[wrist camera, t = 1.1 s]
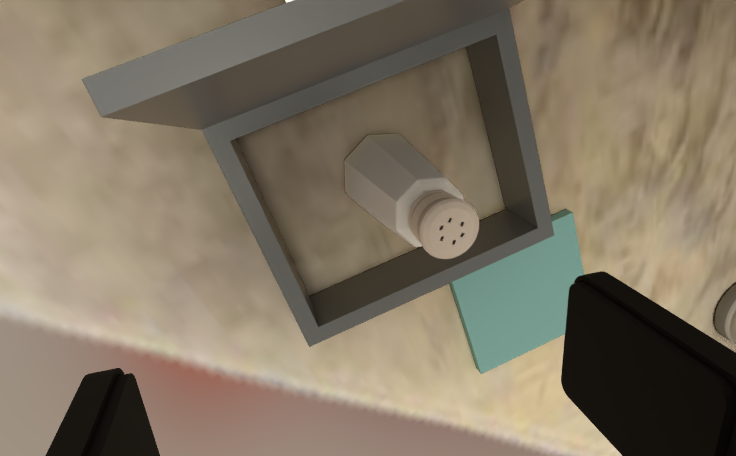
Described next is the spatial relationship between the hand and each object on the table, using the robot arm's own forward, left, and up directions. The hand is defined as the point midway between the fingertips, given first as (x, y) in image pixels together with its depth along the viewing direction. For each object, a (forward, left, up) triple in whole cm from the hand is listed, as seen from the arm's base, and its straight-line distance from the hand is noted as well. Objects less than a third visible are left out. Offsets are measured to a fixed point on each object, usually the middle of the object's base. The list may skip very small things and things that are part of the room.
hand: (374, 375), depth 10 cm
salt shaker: (-5, +3, -21) cm, 22 cm away
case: (-5, +3, -21) cm, 22 cm away
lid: (-5, -5, -10) cm, 13 cm away
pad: (-12, +16, -21) cm, 29 cm away
